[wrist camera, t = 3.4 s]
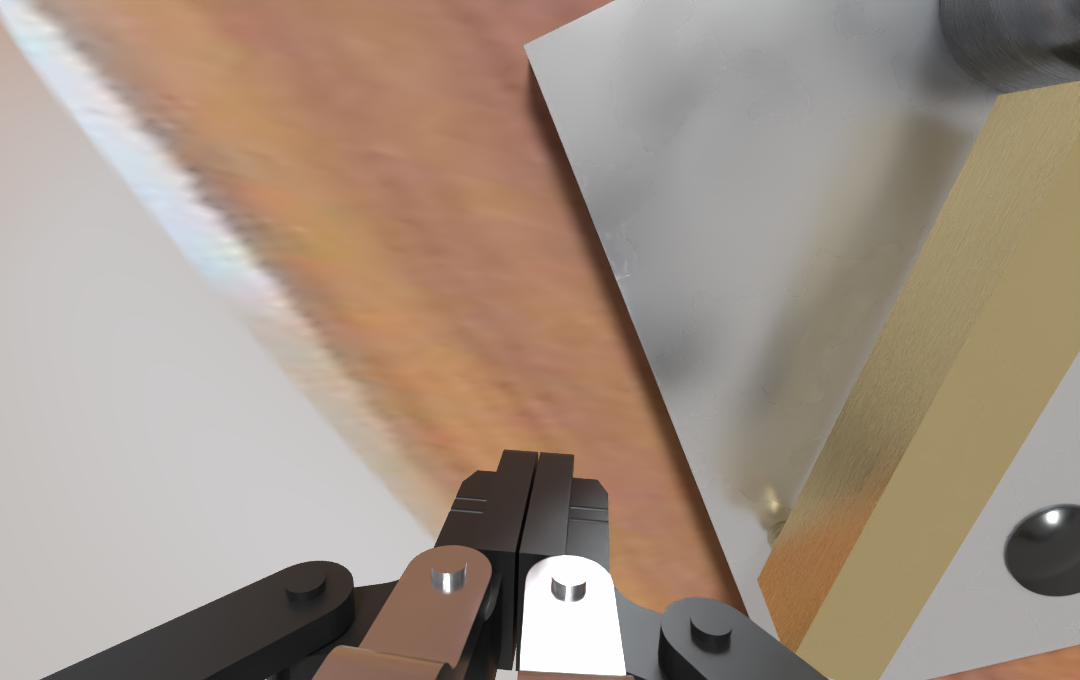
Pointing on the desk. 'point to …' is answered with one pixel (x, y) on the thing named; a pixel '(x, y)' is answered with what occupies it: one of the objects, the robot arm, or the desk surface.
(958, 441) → the leg
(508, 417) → the desk surface
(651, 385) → the desk surface
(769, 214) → the mounting plate
